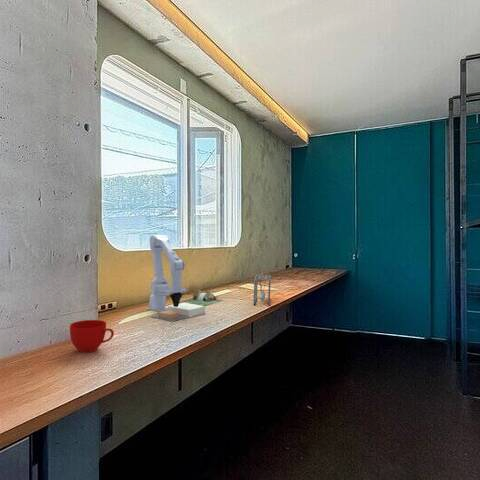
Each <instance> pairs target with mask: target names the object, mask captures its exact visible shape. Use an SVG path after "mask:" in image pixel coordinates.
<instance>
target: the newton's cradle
mask: <svg viewBox="0 0 480 480" xmlns="http://www.w3.org/2000/svg"><path fill="white" fill-rule="evenodd" d="M271 276H272V275H271V274H266V275H263V277H262V278H261V273H260V274H258V273H256V274H255V277H254V278H253V279H254V281H253V305H254V304H255V303H256V304H257V300H258V299H259V300H260V301H261V302H264V300H265V299H266V292H265V289H263V288H265V287H266V282H267V280H268V287H267V288H268V289H267V290H268V291H267V293H268V296H267V306H268V305H270V304H271V278H272V277H271ZM261 280H263V281H265V282H264V287H262V282H261ZM258 282H259V287H260V293H259V297H258ZM256 299H257V300H256ZM270 306H271V305H270Z"/></svg>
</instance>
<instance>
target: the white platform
mask: <svg viewBox="0 0 480 480" xmlns="http://www.w3.org/2000/svg"><path fill="white" fill-rule="evenodd" d="M166 308H167V310H170V311H175V312H180V315H181V316H186V317H188V318H193V317H195V316H199V315H203V314H206V306H201V305H195V304H189V303H180V304H179V305H178V307H174V305H173V304H172V305H166Z"/></svg>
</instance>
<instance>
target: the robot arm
mask: <svg viewBox="0 0 480 480" xmlns="http://www.w3.org/2000/svg"><path fill="white" fill-rule="evenodd" d="M169 243H170V238H169V236H168V235H167V234H164V235H162V234H161V235H160V234H151V236H150V237H149V249H150V250H151V251H152V259H153V269H154V270H153V271H154V278H153V280H151V282H150V293H151V295H150V296H149V301H148V302H149V304H148V308H147V309H148V310H150V311H151V310H152V311H157V312H161V311H166V310H167V296H169V297H170V299H171V301H172V305H174V307H178V305H179V302H181V298H182V297H183V294H184V293H187V288H182V282H183V270H185V262H184V260H183V259H181V258H179V256H178V255H177V252H176V251H175V250H173V249H172V248H171V245H170V244H169ZM162 251H164V252H165V258H166V259H167V262H168V263H169V269H170V275H171V276H170V277H171V281H170V283H171V284H170V285H169V280H168V279H167V278H165V277H164V276H165V275H164V266H163V257H162Z"/></svg>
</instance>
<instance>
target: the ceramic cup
mask: <svg viewBox="0 0 480 480" xmlns="http://www.w3.org/2000/svg"><path fill="white" fill-rule="evenodd" d="M107 331H109V332H110V334H111V335H110V337H109V338H106V339H105V337H106V332H107ZM114 332H115V331H114V330H113V328H110V327H108V328H107V322H106V321H104V320H99V319H98V320H97V319H87V320H80V321H75V322H72V323H70V325H69V335H70V336H69V338H70V340H71V343H72V346H73V347H74V348H75V349H77V351H78V352H79V353H92V352H95V351H97V350H98V349H99V347H100V346H102V344H103V343H106V342H109V341H110V340H112V338H113V337H114V334H115V333H114Z"/></svg>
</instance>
